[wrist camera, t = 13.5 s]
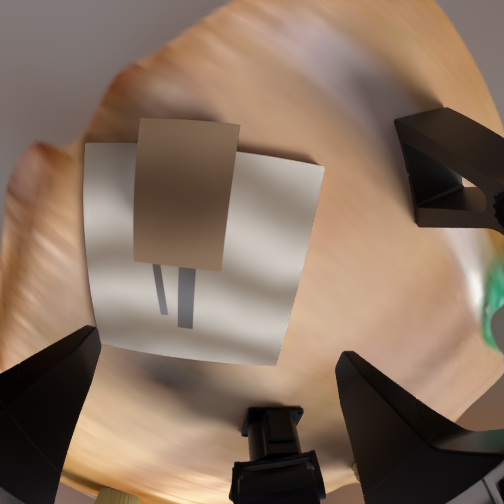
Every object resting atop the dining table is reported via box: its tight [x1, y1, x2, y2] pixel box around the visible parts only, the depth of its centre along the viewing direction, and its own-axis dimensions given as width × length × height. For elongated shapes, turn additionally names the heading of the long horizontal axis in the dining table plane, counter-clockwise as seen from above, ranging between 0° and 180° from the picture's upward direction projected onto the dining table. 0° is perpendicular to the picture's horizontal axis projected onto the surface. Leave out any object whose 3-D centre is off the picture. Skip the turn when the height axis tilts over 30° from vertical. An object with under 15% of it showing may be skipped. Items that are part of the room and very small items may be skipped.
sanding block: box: [133, 118, 240, 272], centre depth 14 cm, size 7×4×5 cm, turn 172°
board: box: [83, 142, 325, 366], centre depth 20 cm, size 17×16×1 cm
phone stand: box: [394, 107, 504, 235], centre depth 13 cm, size 9×6×12 cm, turn 22°
